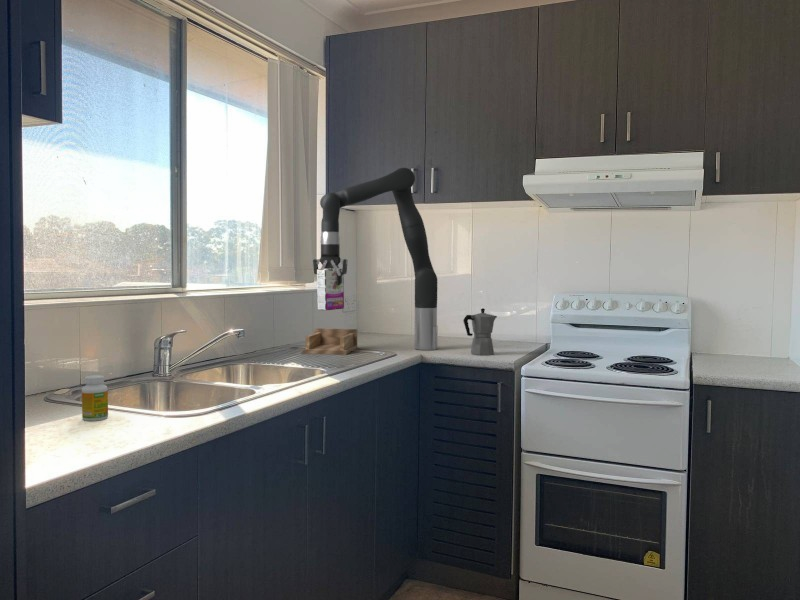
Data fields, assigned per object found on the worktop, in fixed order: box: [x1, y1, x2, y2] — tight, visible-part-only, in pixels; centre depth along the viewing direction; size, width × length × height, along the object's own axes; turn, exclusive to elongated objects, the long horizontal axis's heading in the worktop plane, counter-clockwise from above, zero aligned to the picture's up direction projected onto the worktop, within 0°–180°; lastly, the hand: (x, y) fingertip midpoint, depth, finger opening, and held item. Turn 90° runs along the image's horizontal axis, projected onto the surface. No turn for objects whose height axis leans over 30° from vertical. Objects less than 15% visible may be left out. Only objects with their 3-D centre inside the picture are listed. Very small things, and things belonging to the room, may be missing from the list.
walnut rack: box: [301, 327, 358, 356], centre depth 270 cm, size 18×19×8 cm
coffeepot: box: [462, 307, 498, 356], centre depth 263 cm, size 15×9×18 cm, turn 117°
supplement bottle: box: [81, 374, 109, 422], centre depth 153 cm, size 5×5×10 cm
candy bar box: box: [316, 268, 345, 311], centre depth 269 cm, size 11×5×16 cm, turn 144°
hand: (330, 285), depth 269 cm, fingers closed on candy bar box, 6 cm apart
